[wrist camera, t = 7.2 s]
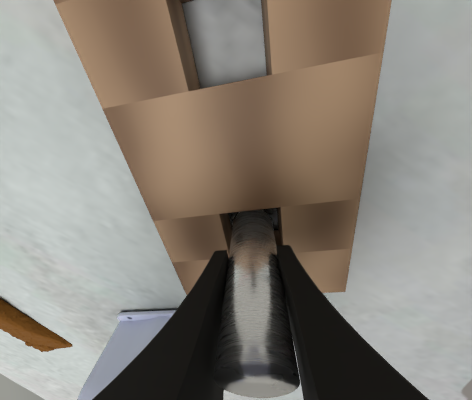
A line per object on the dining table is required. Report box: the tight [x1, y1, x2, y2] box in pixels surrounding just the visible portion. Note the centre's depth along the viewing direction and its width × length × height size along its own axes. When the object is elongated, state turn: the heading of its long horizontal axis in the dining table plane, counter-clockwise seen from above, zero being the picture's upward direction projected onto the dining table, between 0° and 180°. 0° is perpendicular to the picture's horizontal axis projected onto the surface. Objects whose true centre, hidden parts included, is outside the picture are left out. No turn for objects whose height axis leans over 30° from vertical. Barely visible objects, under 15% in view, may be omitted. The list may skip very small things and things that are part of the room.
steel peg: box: [214, 209, 300, 398], centre depth 9 cm, size 3×3×8 cm
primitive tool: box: [0, 298, 72, 352], centre depth 22 cm, size 19×6×4 cm, turn 18°
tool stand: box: [54, 0, 392, 295], centre depth 11 cm, size 12×22×2 cm, turn 10°
